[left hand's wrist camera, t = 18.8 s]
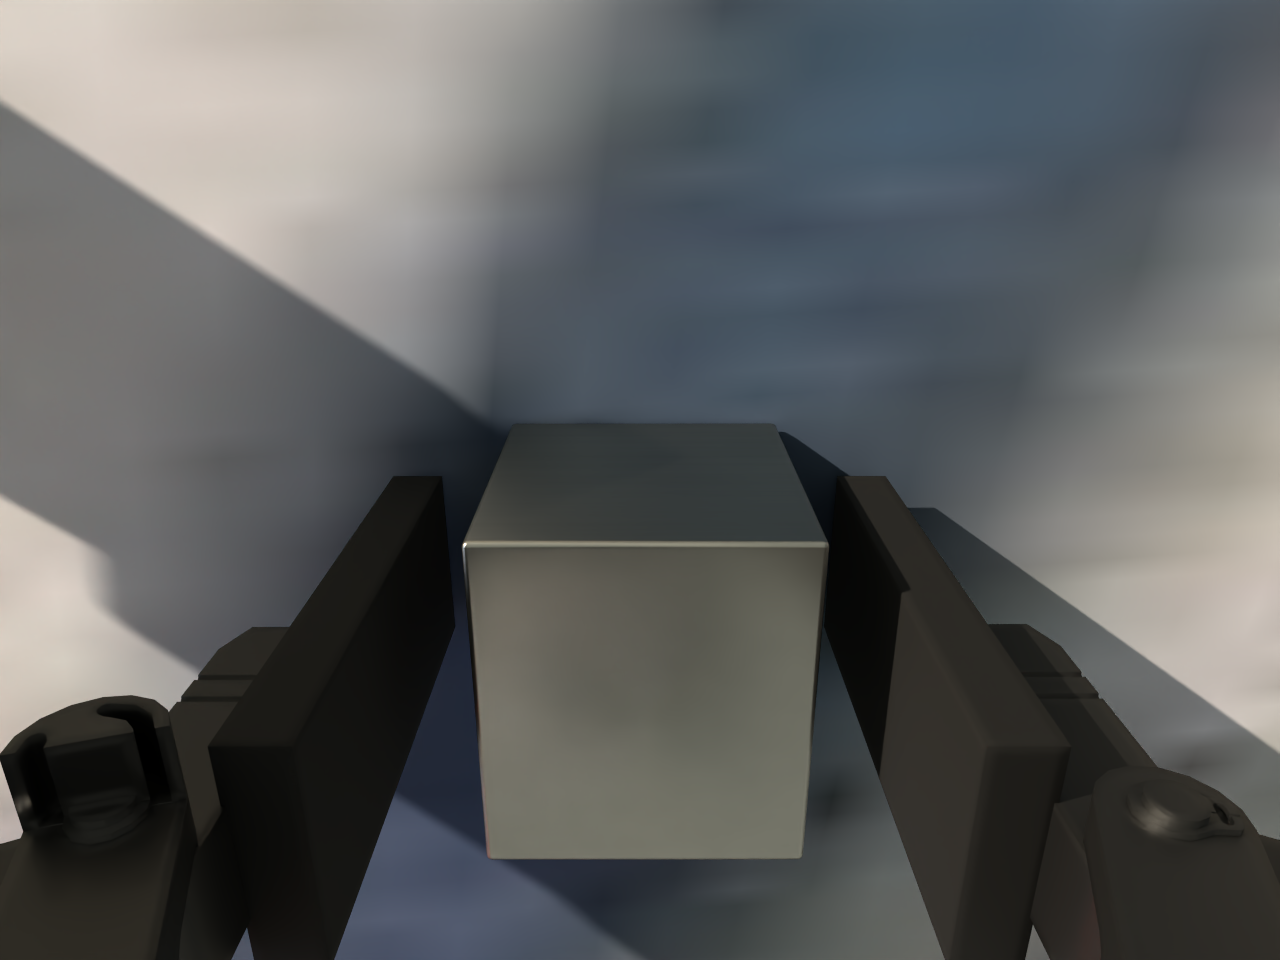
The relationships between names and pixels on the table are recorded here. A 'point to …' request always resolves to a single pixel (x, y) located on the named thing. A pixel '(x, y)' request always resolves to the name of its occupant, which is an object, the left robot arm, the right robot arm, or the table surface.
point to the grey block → (645, 642)
